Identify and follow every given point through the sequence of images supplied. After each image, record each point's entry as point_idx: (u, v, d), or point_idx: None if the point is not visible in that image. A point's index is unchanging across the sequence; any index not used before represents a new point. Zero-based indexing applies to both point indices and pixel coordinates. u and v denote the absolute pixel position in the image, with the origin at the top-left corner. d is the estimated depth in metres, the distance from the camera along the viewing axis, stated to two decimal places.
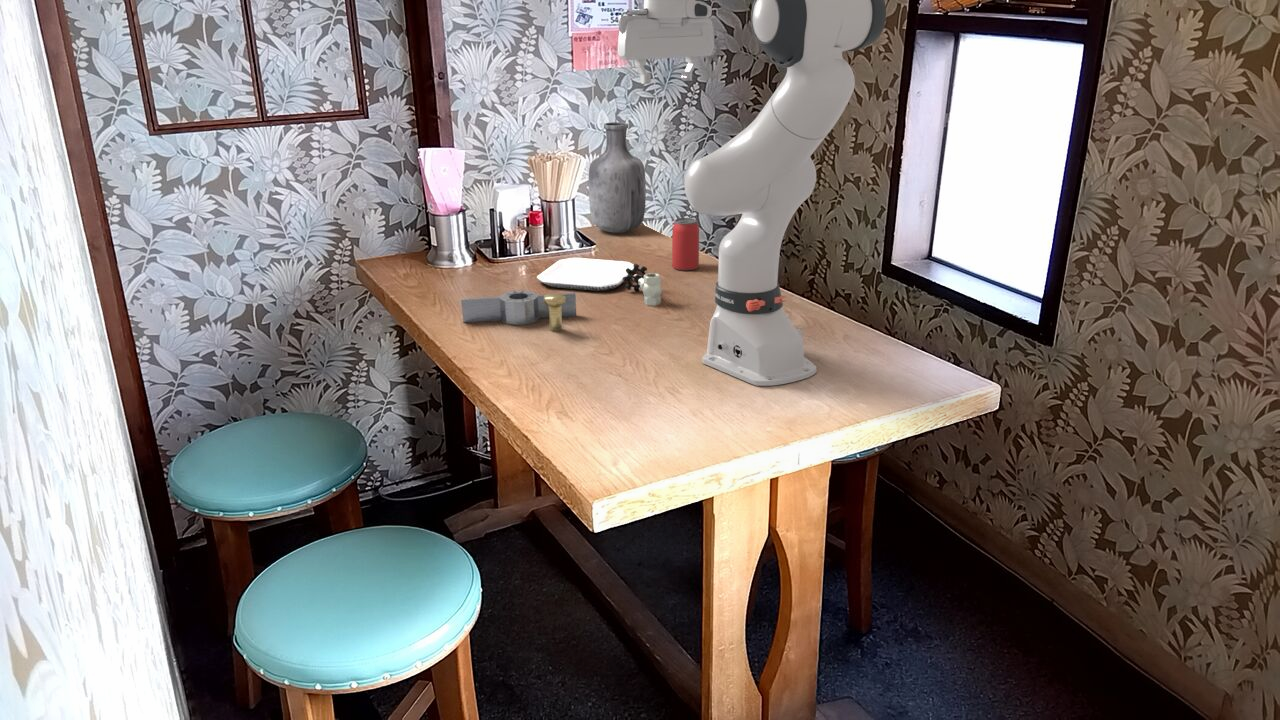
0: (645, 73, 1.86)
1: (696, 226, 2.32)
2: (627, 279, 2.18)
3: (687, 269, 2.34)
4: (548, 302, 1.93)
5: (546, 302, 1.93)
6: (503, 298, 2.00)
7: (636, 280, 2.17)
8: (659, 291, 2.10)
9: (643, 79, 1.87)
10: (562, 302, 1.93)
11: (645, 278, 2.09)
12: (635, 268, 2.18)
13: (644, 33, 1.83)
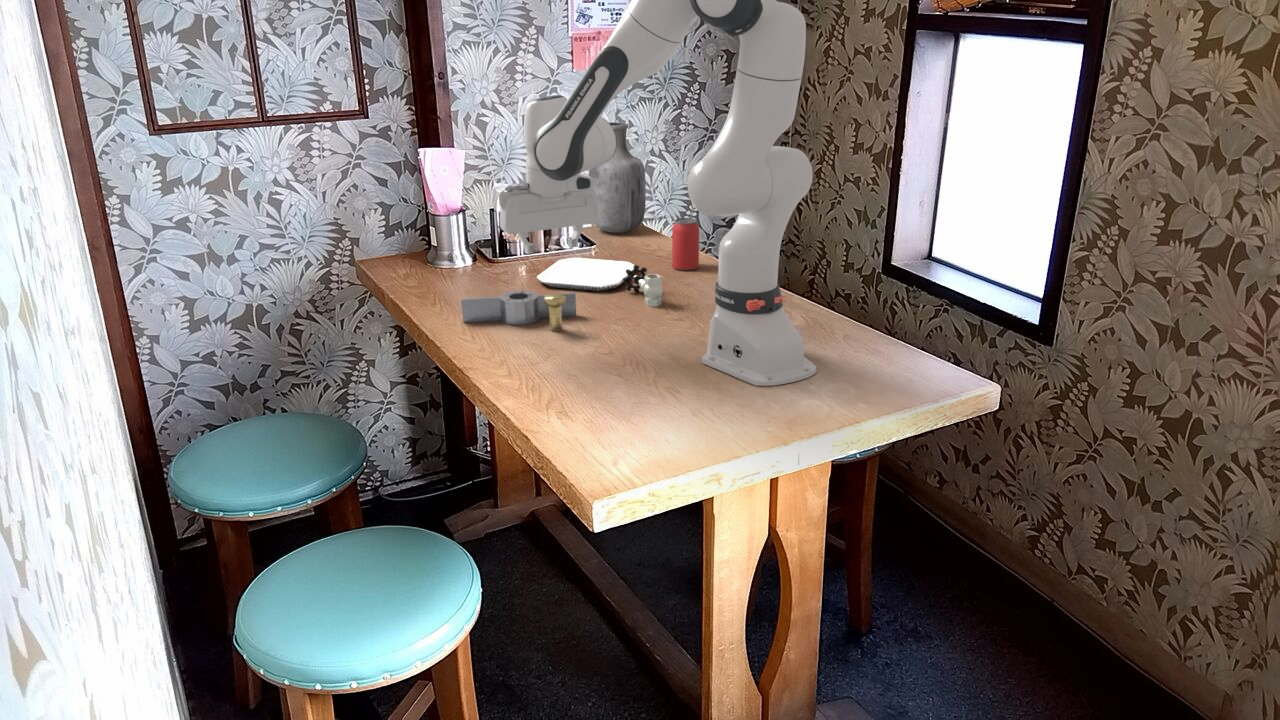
0: (528, 244, 1.87)
1: (696, 226, 2.32)
2: (627, 280, 2.17)
3: (687, 269, 2.34)
4: (548, 302, 1.93)
5: (546, 302, 1.93)
6: (503, 298, 2.00)
7: (636, 281, 2.16)
8: (660, 292, 2.09)
9: (526, 249, 1.88)
10: (562, 302, 1.93)
11: (646, 279, 2.09)
12: (635, 269, 2.17)
13: (525, 208, 1.83)
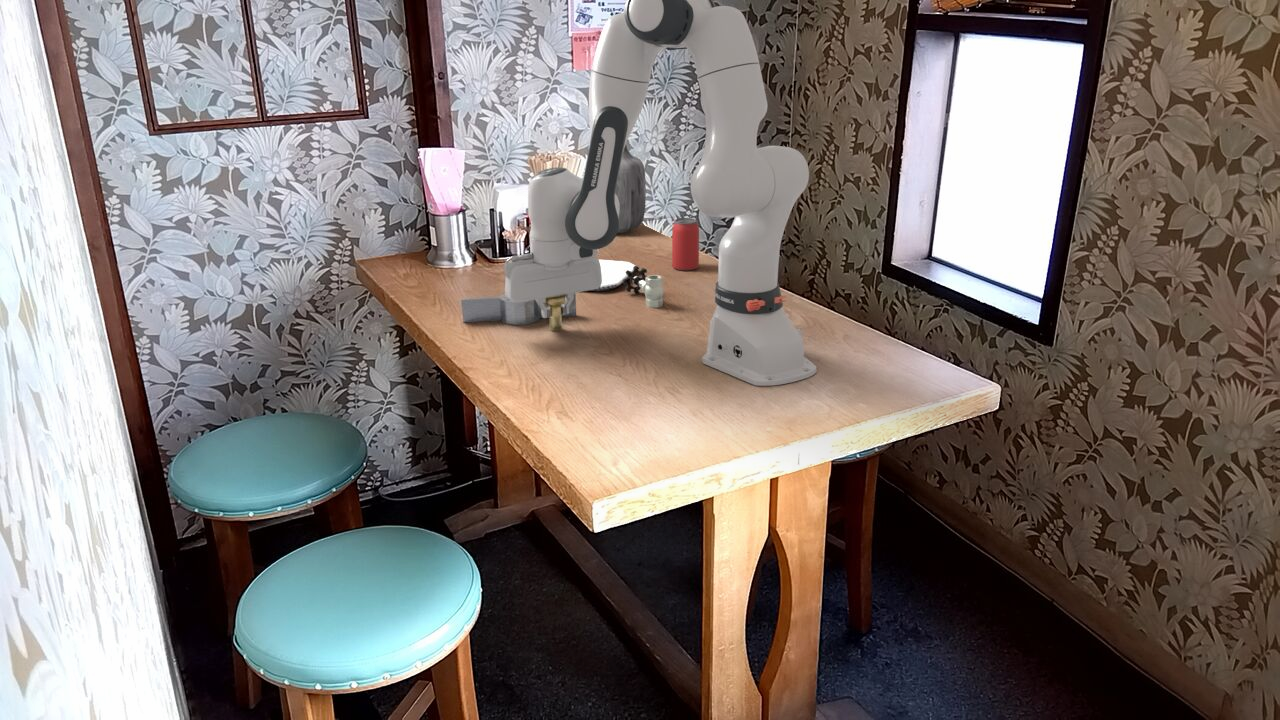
0: (545, 309, 1.93)
1: (696, 226, 2.32)
2: (627, 281, 2.17)
3: (687, 269, 2.34)
4: (548, 302, 1.93)
5: (546, 302, 1.93)
6: (503, 298, 2.00)
7: (636, 282, 2.16)
8: (661, 293, 2.09)
9: (543, 314, 1.94)
10: (562, 302, 1.93)
11: (647, 280, 2.08)
12: (635, 270, 2.17)
13: (529, 277, 1.88)
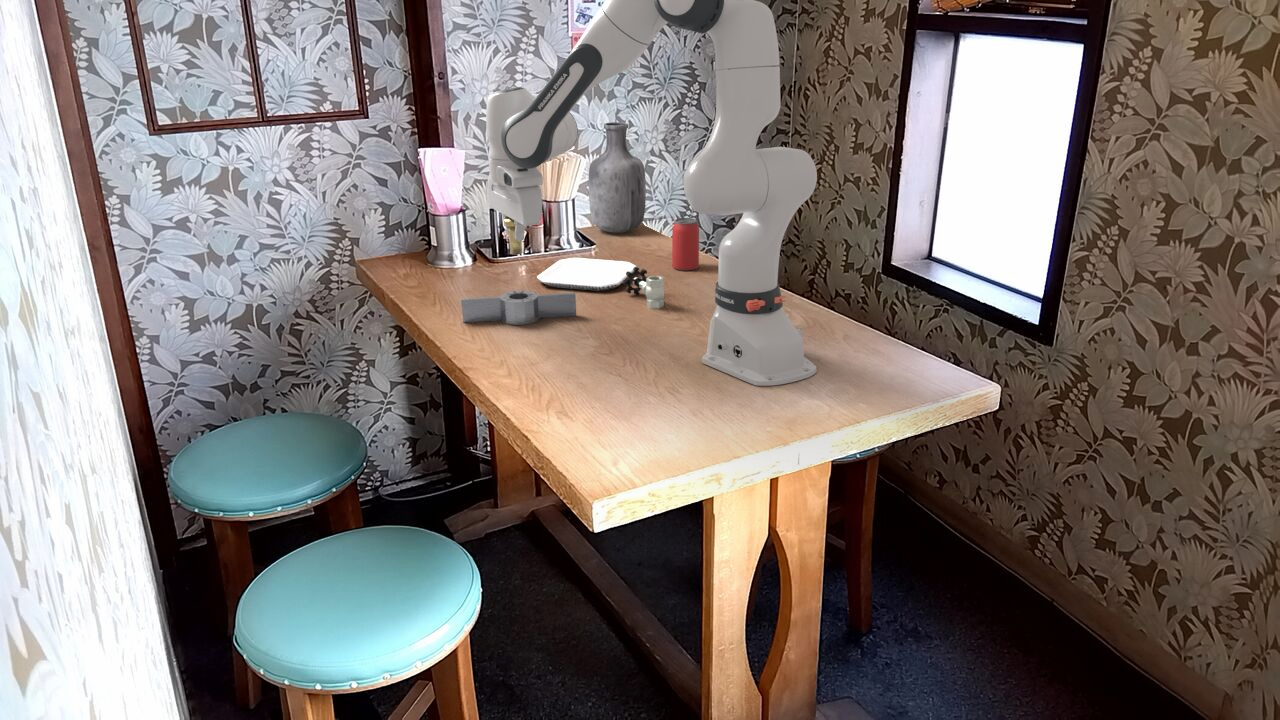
0: (505, 226, 1.98)
1: (696, 226, 2.32)
2: (627, 282, 2.16)
3: (687, 269, 2.34)
4: None
5: None
6: (503, 298, 2.00)
7: (637, 283, 2.15)
8: (662, 294, 2.08)
9: None
10: (507, 225, 1.94)
11: (648, 281, 2.07)
12: (635, 271, 2.16)
13: (494, 188, 1.97)
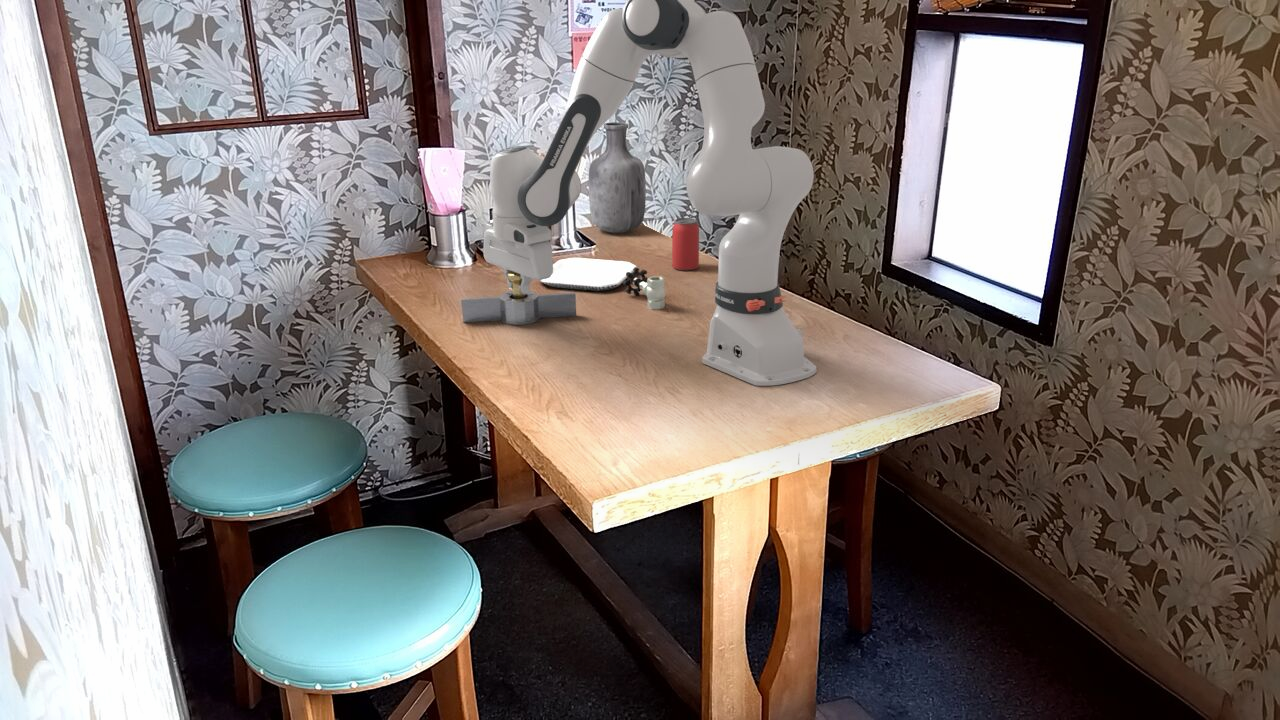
0: (507, 280, 2.01)
1: (696, 226, 2.32)
2: (627, 283, 2.15)
3: (687, 269, 2.34)
4: None
5: None
6: (503, 298, 2.00)
7: (637, 284, 2.14)
8: (663, 294, 2.08)
9: None
10: (512, 279, 1.98)
11: (649, 282, 2.07)
12: (635, 272, 2.15)
13: (494, 243, 2.01)
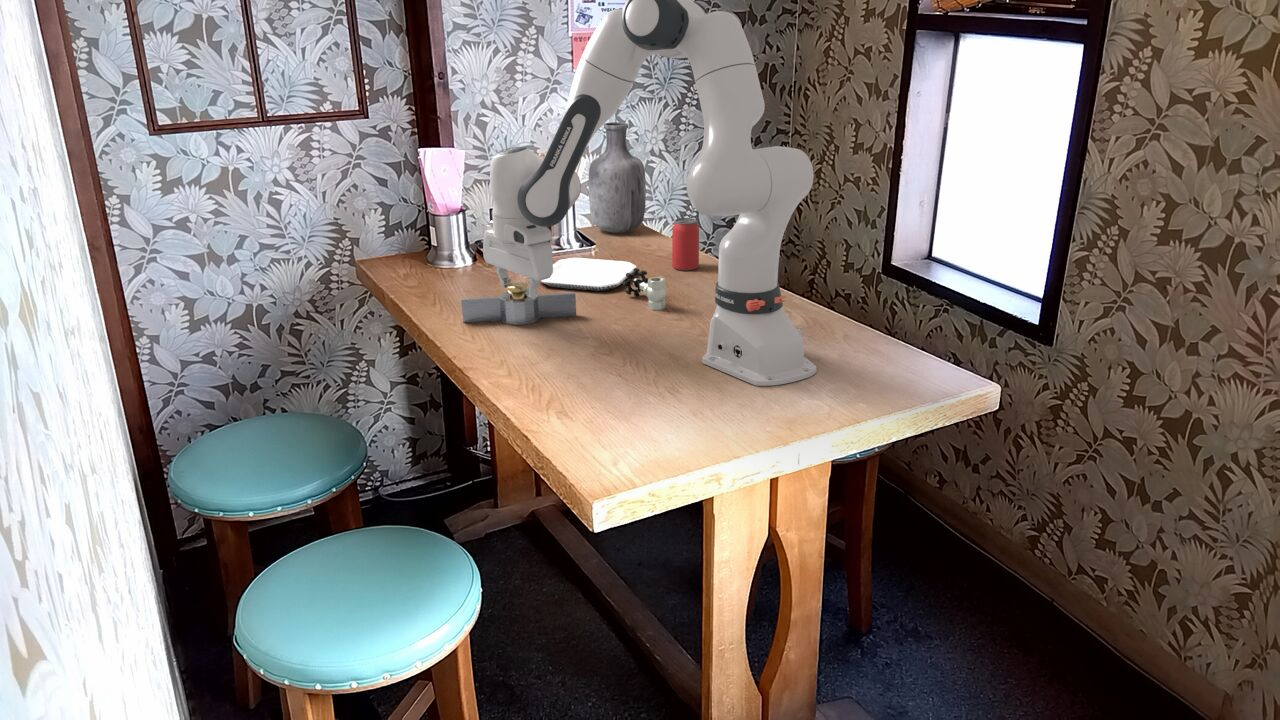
0: (500, 278, 2.03)
1: (696, 226, 2.32)
2: (627, 284, 2.15)
3: (687, 269, 2.34)
4: None
5: None
6: (503, 298, 2.00)
7: (637, 285, 2.14)
8: (664, 295, 2.07)
9: None
10: (512, 292, 2.00)
11: (650, 282, 2.06)
12: (635, 272, 2.15)
13: (494, 244, 2.01)
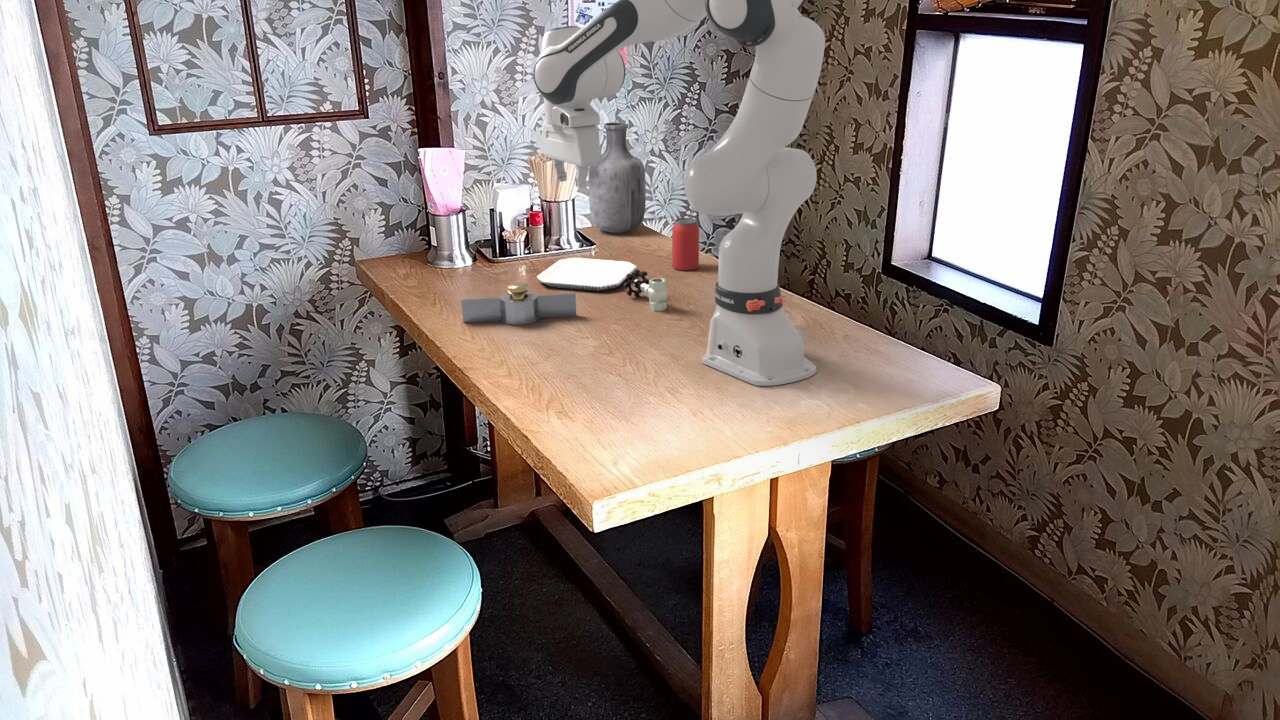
0: (555, 171, 1.96)
1: (696, 226, 2.32)
2: (628, 285, 2.14)
3: (687, 269, 2.34)
4: None
5: None
6: (503, 298, 2.00)
7: (638, 286, 2.13)
8: (665, 296, 2.07)
9: None
10: (512, 292, 2.00)
11: (651, 283, 2.06)
12: (636, 273, 2.14)
13: (549, 134, 1.93)
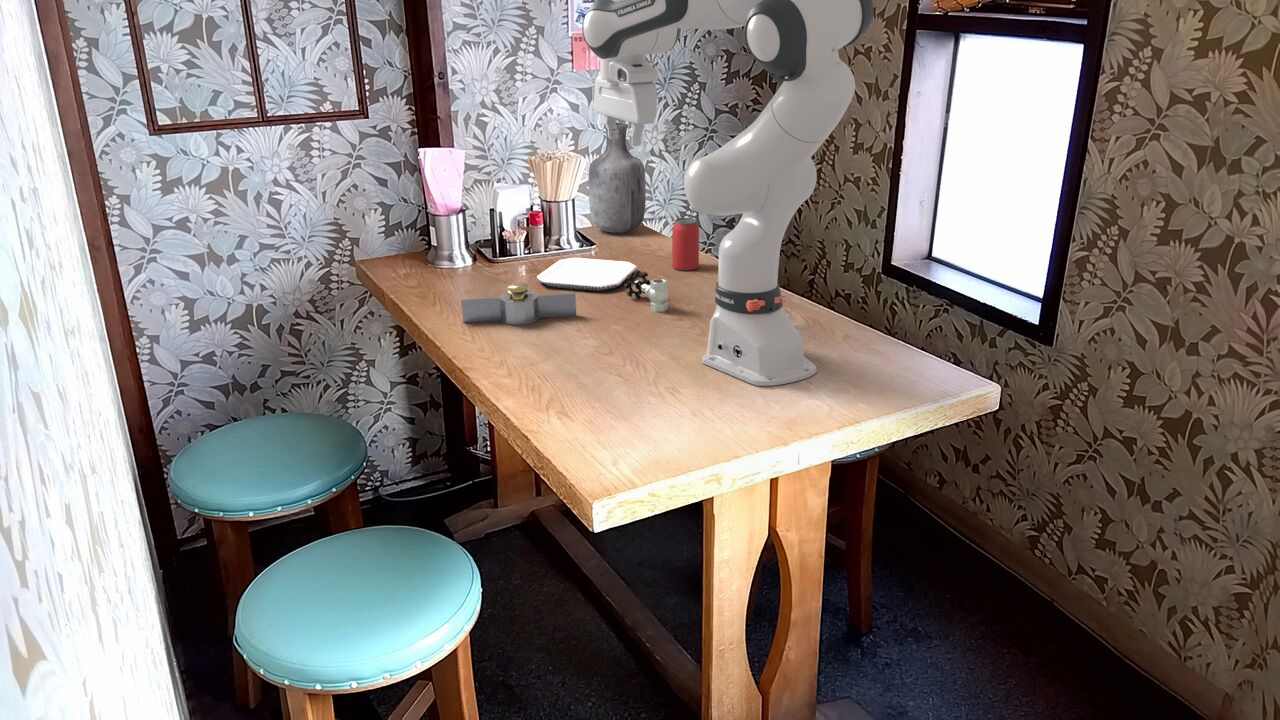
0: (607, 128, 1.92)
1: (696, 226, 2.32)
2: (629, 286, 2.13)
3: (687, 269, 2.34)
4: None
5: None
6: (503, 298, 2.00)
7: (638, 286, 2.13)
8: (667, 297, 2.06)
9: None
10: (512, 292, 2.00)
11: (652, 284, 2.05)
12: (636, 274, 2.14)
13: (603, 90, 1.90)
